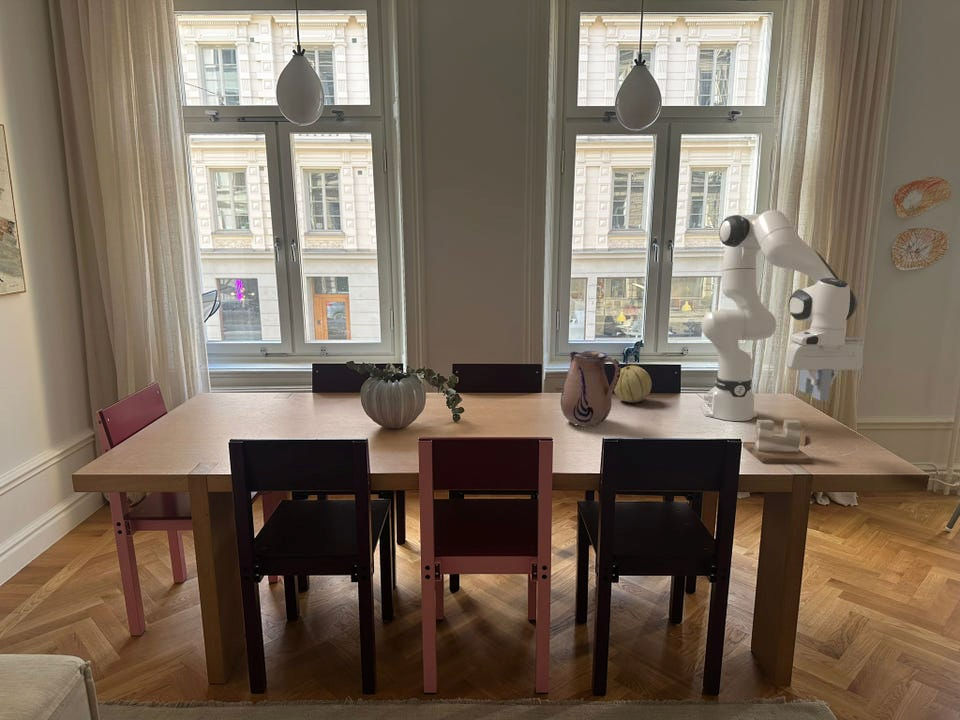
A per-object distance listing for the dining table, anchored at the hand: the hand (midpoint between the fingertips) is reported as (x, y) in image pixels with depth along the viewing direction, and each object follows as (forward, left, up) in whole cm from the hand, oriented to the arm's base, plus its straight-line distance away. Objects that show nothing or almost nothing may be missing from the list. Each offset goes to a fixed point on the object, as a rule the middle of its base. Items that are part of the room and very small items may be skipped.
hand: (821, 384), depth 174 cm
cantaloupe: (-63, -39, -23) cm, 78 cm away
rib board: (-4, -9, -23) cm, 25 cm away
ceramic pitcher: (-34, -60, -23) cm, 73 cm away
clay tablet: (-20, +2, -24) cm, 31 cm away
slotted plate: (-4, 0, -4) cm, 6 cm away
